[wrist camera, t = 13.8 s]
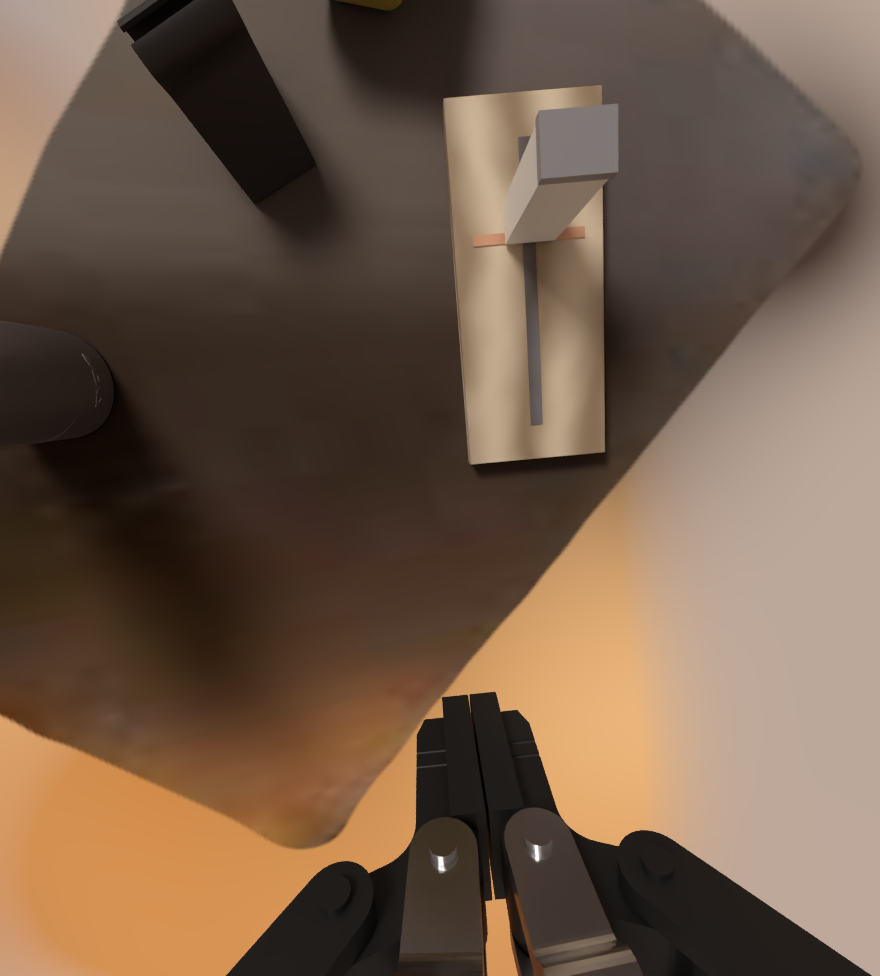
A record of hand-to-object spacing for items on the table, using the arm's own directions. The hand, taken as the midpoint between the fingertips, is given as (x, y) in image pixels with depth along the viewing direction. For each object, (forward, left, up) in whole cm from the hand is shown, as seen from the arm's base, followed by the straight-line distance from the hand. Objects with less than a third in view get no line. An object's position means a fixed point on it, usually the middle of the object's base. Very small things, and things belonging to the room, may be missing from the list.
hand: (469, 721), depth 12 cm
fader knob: (+9, +21, -28) cm, 36 cm away
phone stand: (-12, +30, -31) cm, 45 cm away
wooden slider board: (+9, +16, -31) cm, 36 cm away
